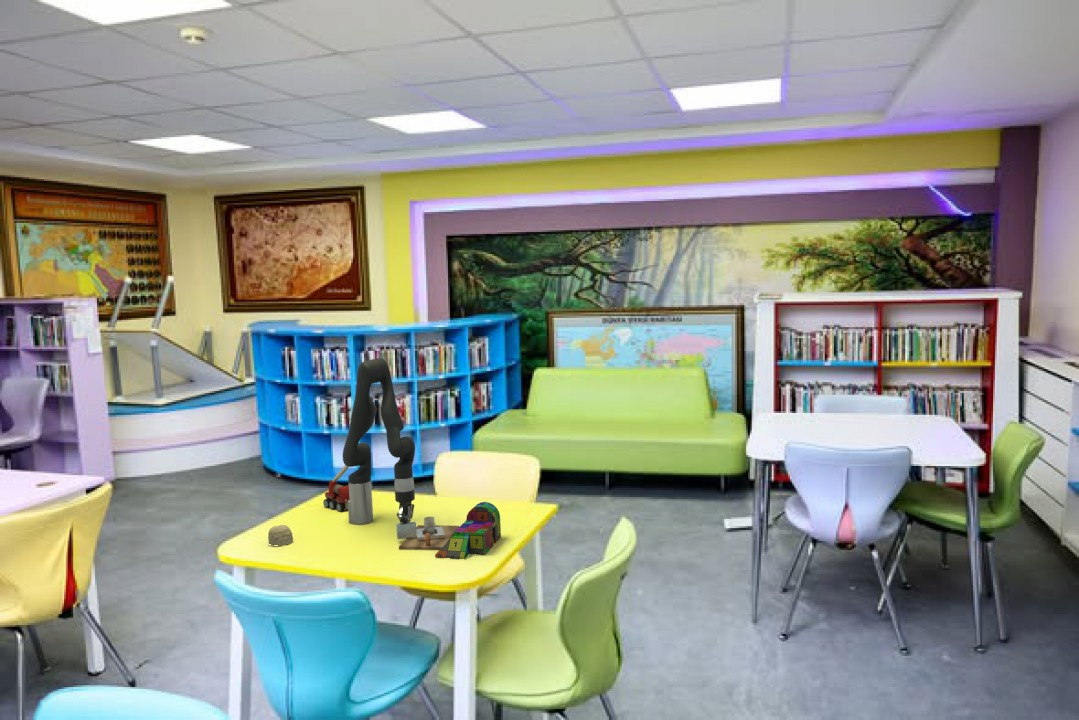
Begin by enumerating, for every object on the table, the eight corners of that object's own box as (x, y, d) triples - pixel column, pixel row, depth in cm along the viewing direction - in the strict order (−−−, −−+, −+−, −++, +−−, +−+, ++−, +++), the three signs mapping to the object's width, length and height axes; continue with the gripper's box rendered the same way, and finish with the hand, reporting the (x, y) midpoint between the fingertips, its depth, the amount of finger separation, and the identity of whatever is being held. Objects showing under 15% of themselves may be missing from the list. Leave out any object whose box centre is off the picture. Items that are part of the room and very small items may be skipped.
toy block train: (459, 535, 306) (458, 500, 305) (501, 538, 302) (499, 502, 300) (435, 558, 282) (433, 520, 281) (479, 561, 278) (477, 522, 276)
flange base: (398, 549, 292) (397, 528, 291) (418, 528, 317) (417, 508, 316) (443, 550, 290) (442, 528, 289) (459, 528, 314) (458, 508, 313)
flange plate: (441, 529, 309) (441, 515, 309) (444, 537, 299) (444, 523, 299) (396, 534, 305) (395, 520, 305) (397, 542, 295) (397, 528, 295)
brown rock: (269, 553, 305) (257, 537, 299) (282, 533, 312) (270, 517, 306) (288, 555, 302) (276, 539, 295) (300, 534, 308) (289, 519, 302)
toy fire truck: (342, 513, 341) (339, 473, 339) (322, 507, 351) (319, 468, 349) (363, 507, 349) (361, 468, 347) (343, 501, 360) (341, 463, 358)
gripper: (407, 493, 296) (409, 537, 298) (419, 484, 309) (422, 526, 311) (388, 493, 298) (391, 537, 300) (401, 483, 311) (404, 525, 313)
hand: (407, 531), depth 305 cm, fingers closed
